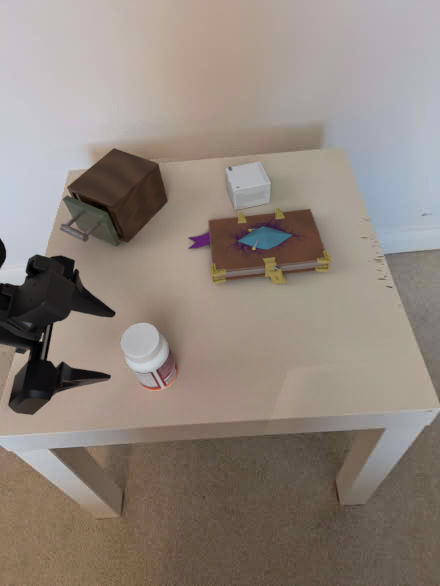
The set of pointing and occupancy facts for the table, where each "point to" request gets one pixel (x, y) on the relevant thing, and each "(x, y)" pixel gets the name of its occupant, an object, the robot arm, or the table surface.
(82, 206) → the drawer
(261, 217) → the book
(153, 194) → the cabinet
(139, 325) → the pill bottle
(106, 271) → the table surface
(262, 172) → the small box
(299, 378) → the table surface
